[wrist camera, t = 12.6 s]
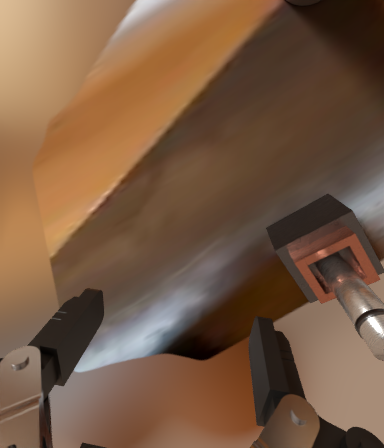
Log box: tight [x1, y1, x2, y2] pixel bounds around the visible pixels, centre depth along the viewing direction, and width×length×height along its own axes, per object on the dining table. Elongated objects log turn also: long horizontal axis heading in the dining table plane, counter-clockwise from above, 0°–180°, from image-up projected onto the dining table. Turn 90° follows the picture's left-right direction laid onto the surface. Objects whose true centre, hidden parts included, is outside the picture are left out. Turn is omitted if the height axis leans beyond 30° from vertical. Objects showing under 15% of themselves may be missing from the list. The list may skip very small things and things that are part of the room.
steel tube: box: [315, 252, 384, 361], centre depth 28 cm, size 4×4×14 cm
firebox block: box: [266, 194, 384, 303], centre depth 37 cm, size 11×11×10 cm
